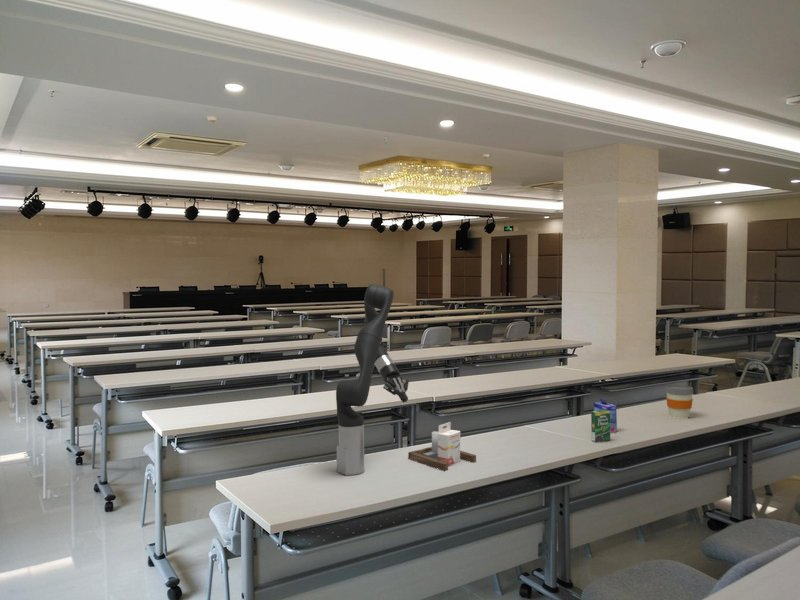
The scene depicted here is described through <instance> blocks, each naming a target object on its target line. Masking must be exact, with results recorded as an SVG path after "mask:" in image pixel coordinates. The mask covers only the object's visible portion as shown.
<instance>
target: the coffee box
mask: <svg viewBox="0 0 800 600" xmlns="http://www.w3.org/2000/svg"><path fill="white" fill-rule="evenodd" d="M590 414H591V415H590V417H591V420H590V421H591V422H590V423H591V426H590V427H591V442H592V443H593V442H594V443H599V442H600V443H601V442H609V441H611V433H610V411H609V410H599V411H594V410H593V411H590Z"/></svg>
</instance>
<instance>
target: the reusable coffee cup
mask: <svg viewBox="0 0 800 600" xmlns="http://www.w3.org/2000/svg"><path fill="white" fill-rule="evenodd" d="M665 393H666V398H665V400H666V406H667V408H668V415H670V416H671V417H676V418H688V417H689V418H690V414H691V409H692V408H693V407H692V406H693V395H694V388H693V387H692V386H688V385H680V384H670V385H666V386H665ZM670 416H669V417H670ZM671 417H670V418H671ZM676 418H675V419H676ZM689 418H688V419H689Z"/></svg>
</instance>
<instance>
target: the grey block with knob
mask: <svg viewBox="0 0 800 600" xmlns="http://www.w3.org/2000/svg"><path fill="white" fill-rule="evenodd" d="M431 447H432V451H431V452H427V453H423V455H425V456H428V457H431V458H434V459H437V460H438V431H435V430H434V431H431Z"/></svg>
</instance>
